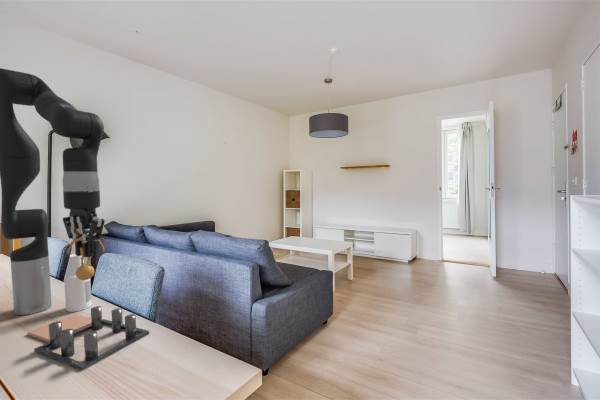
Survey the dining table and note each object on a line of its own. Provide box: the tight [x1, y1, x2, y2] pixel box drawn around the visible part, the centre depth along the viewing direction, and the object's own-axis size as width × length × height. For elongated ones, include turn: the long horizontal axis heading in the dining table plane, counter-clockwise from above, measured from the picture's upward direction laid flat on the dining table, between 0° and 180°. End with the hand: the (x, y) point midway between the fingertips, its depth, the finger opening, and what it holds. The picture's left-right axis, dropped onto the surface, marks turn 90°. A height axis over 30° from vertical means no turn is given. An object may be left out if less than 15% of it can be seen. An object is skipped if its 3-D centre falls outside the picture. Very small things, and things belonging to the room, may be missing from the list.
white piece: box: [63, 253, 92, 313], centre depth 97 cm, size 7×7×18 cm
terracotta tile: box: [27, 313, 91, 343], centre depth 84 cm, size 11×12×1 cm
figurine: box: [66, 233, 105, 280], centre depth 76 cm, size 8×6×12 cm
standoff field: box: [33, 305, 150, 371], centre depth 76 cm, size 19×17×6 cm
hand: (85, 255), depth 76 cm, fingers closed on figurine, 2 cm apart
